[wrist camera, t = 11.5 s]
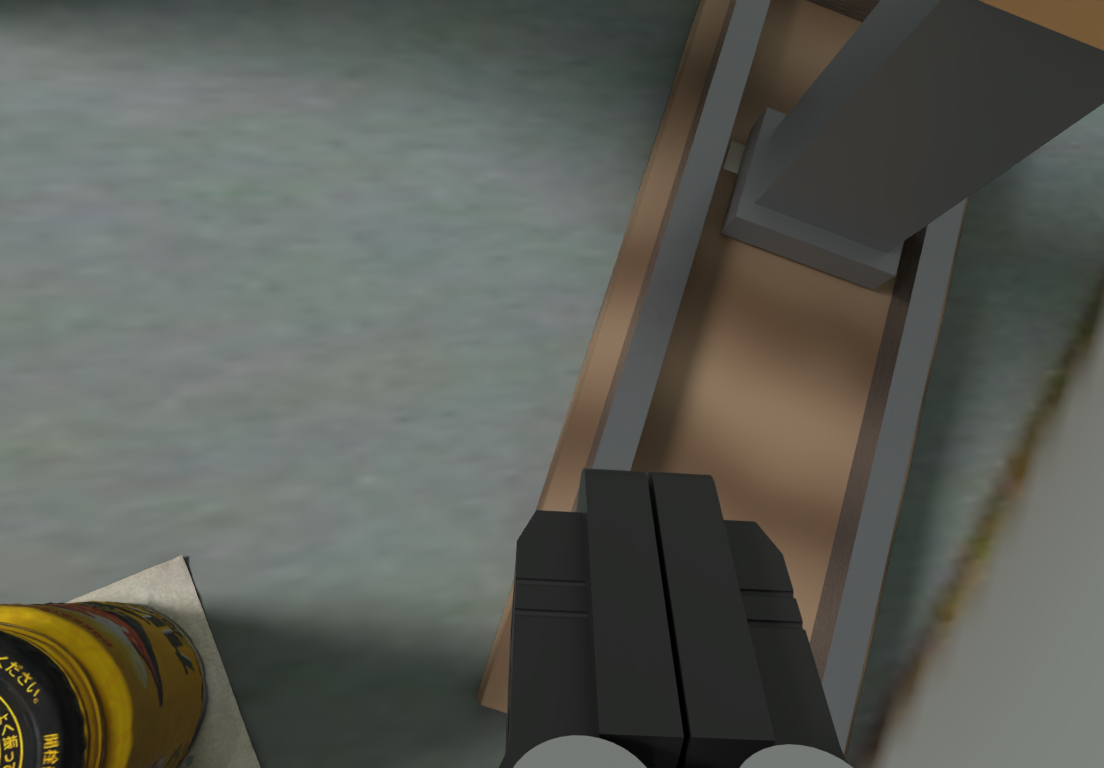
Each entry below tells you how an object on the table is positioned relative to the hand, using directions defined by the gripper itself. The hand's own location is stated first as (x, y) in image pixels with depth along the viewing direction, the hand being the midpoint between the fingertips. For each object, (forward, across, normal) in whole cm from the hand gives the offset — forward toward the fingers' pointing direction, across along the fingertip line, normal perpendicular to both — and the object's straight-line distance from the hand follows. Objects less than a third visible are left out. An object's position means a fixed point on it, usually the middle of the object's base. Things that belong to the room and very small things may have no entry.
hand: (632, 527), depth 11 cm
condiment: (+10, +13, +19) cm, 25 cm away
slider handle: (+24, -9, +5) cm, 26 cm away
